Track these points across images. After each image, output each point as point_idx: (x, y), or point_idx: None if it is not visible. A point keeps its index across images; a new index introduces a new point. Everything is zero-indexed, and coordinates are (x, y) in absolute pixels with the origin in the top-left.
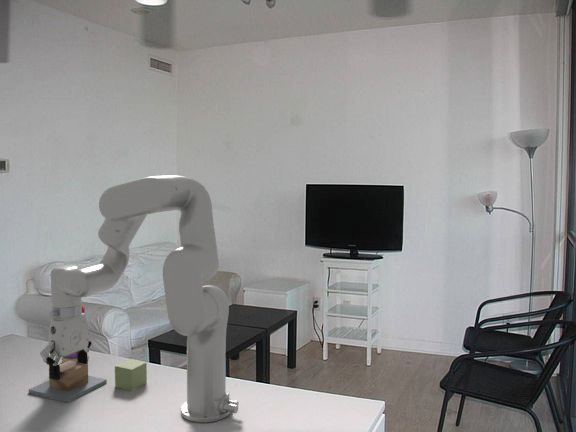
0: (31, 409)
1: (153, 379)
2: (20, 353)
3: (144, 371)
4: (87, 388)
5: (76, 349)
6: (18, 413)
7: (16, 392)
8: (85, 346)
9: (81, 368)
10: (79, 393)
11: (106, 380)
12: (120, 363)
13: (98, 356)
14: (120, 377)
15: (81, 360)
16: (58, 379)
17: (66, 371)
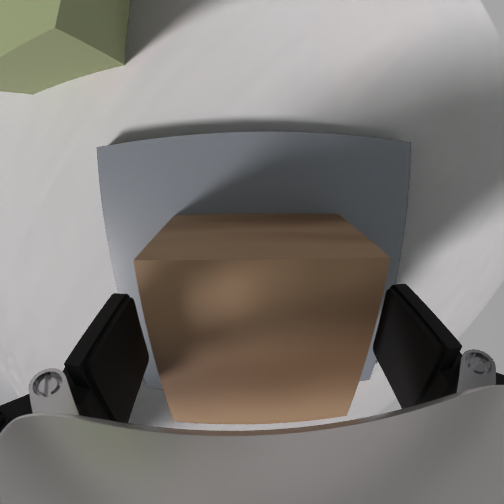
0: (473, 241)
1: None
2: None
3: None
4: (254, 137)
5: (281, 472)
6: (494, 255)
7: (367, 397)
8: (52, 433)
9: (219, 255)
10: (328, 133)
11: (100, 147)
12: (8, 51)
13: (19, 379)
14: (100, 10)
15: (126, 360)
16: (401, 284)
17: (360, 298)
